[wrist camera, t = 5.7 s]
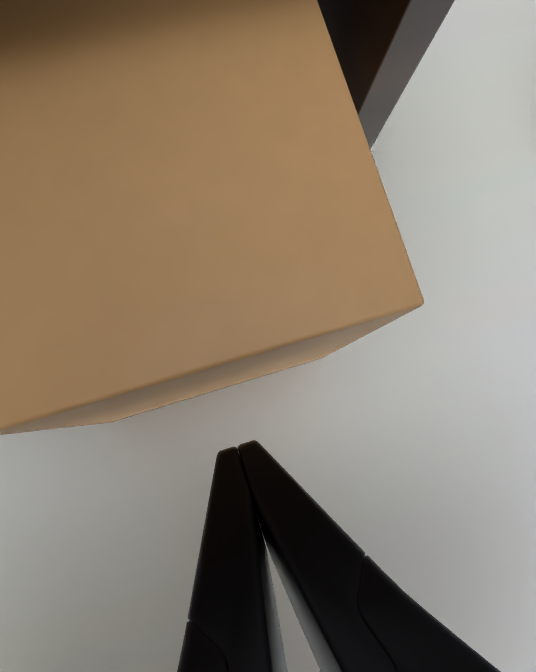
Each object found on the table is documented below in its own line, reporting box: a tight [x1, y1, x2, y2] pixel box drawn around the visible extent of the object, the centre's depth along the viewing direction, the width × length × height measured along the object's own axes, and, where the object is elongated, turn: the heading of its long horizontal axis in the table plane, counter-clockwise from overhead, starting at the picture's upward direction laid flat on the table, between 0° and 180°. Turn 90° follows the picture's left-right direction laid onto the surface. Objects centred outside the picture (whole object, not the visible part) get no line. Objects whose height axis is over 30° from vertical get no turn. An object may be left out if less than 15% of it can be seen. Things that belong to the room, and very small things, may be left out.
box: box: [0, 0, 424, 435], centre depth 13 cm, size 10×8×9 cm
